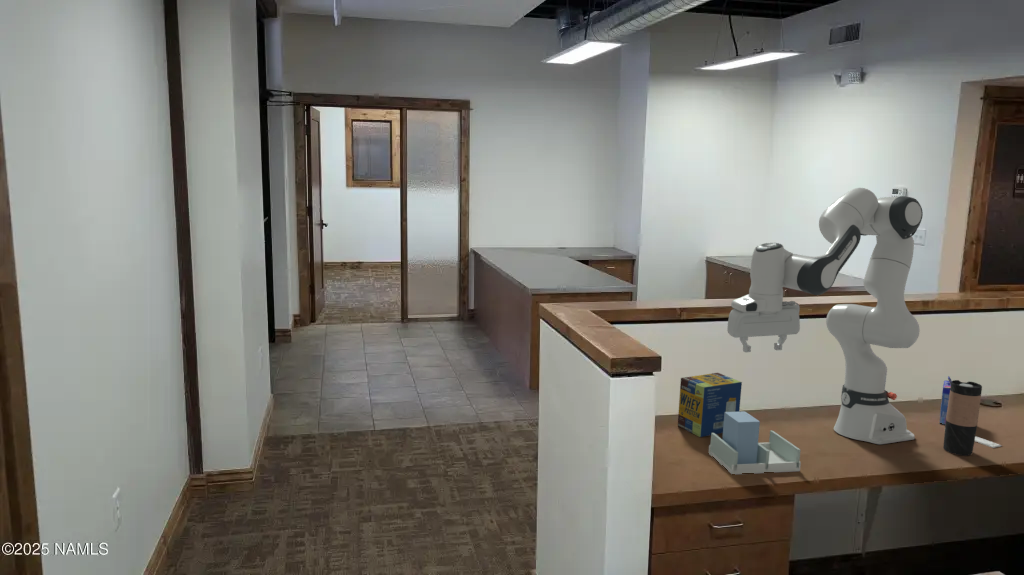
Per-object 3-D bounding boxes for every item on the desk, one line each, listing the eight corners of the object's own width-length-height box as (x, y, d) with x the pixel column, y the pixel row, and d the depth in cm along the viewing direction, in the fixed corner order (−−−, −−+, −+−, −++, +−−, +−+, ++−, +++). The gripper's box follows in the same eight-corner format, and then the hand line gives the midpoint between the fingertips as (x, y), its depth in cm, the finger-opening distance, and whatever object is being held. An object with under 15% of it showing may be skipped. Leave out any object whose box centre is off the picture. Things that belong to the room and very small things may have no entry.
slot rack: (772, 450, 203) (774, 430, 202) (799, 471, 189) (802, 449, 188) (708, 453, 200) (709, 432, 199) (732, 474, 186) (733, 452, 185)
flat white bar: (955, 429, 225) (955, 426, 225) (1003, 447, 211) (1004, 443, 211) (944, 431, 223) (944, 428, 223) (992, 449, 209) (992, 445, 209)
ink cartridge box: (939, 415, 237) (944, 372, 235) (958, 418, 234) (964, 375, 232) (938, 423, 229) (943, 379, 227) (958, 427, 226) (964, 383, 224)
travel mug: (961, 457, 201) (970, 389, 198) (936, 447, 208) (944, 381, 205) (979, 454, 204) (988, 386, 201) (953, 444, 211) (962, 378, 208)
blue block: (741, 453, 198) (745, 411, 196) (756, 464, 190) (759, 421, 188) (721, 453, 197) (724, 412, 195) (735, 465, 189) (738, 422, 187)
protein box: (676, 426, 221) (679, 377, 218) (714, 419, 228) (718, 372, 225) (700, 437, 211) (703, 387, 209) (739, 430, 218) (743, 381, 216)
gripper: (793, 298, 203) (790, 345, 205) (726, 301, 199) (723, 349, 202) (806, 303, 197) (802, 351, 199) (737, 306, 193) (734, 356, 195)
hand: (762, 350), depth 200 cm, fingers open, 8 cm apart
